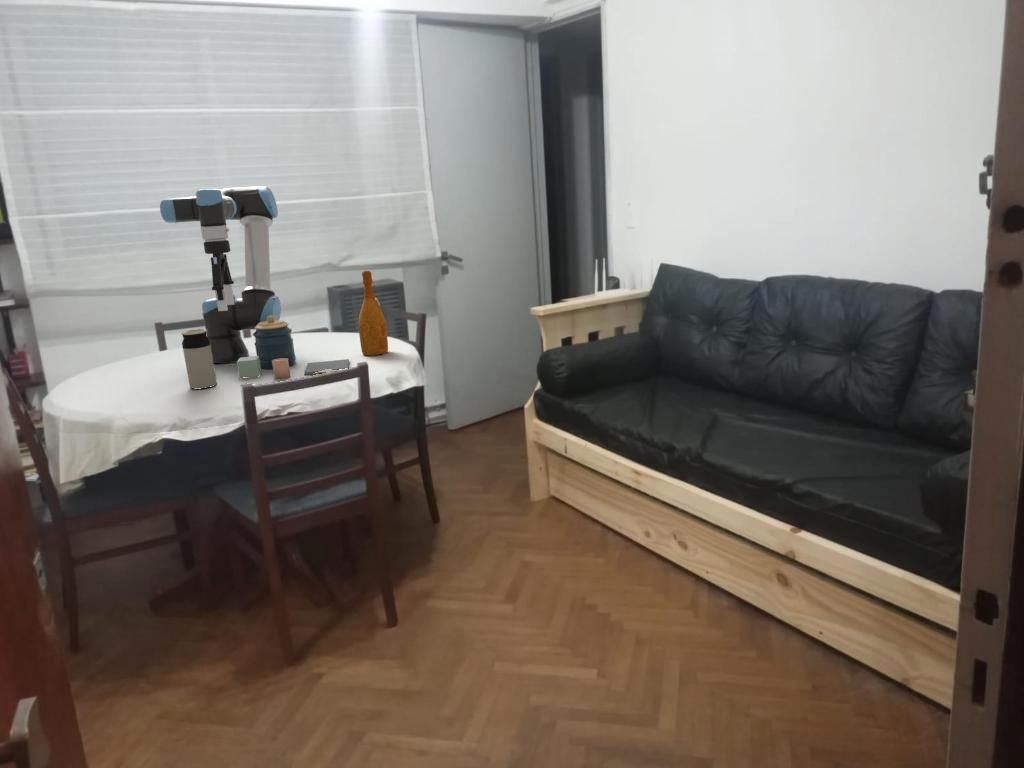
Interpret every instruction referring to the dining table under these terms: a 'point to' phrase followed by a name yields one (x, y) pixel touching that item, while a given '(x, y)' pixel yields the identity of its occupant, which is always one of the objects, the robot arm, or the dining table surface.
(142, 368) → the dining table surface
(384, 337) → the wine bottle
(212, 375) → the travel mug
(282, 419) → the dining table surface
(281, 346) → the canister
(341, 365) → the mat
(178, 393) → the dining table surface
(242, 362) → the sage block
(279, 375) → the salmon block
